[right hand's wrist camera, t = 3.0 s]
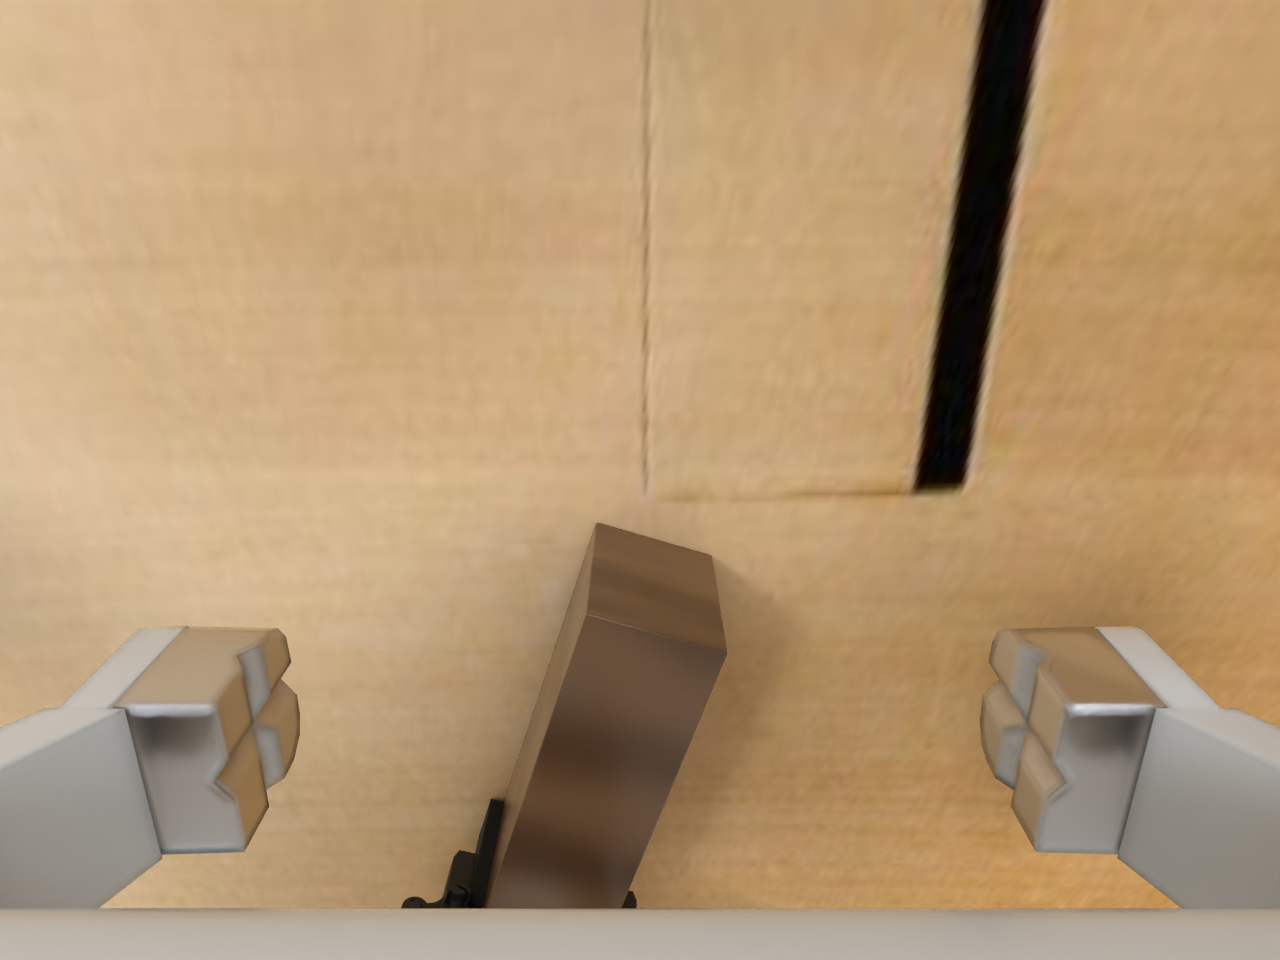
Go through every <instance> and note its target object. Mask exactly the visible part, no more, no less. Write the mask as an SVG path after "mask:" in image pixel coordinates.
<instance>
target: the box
mask: <svg viewBox="0 0 1280 960" xmlns="http://www.w3.org/2000/svg"><path fill="white" fill-rule="evenodd" d="M726 655H727V649H726V642H725V636H724V630H723V624H722V617H721V611H720V605H719V599H718V593H717V586H716V580H715V574H714V568H713V562H712V556H710V555H707V554H703V553H700V552H696V551H693V550H690V549H686V548H683V547H679V546H676V545H672V544H669V543H665V542H662V541H659V540H655V539H652V538H648V537H645V536H641V535H638V534H635V533H631V532H628V531H624V530H621V529H617V528H614V527H610V526H607V525H604V524H600V523H596V525H595V528H594V531H593V534H592V537H591V540H590V543H589V547H588V550H587V553H586V556H585V559H584V562H583V565H582V568H581V571H580V574H579V577H578V580H577V583H576V586H575V589H574V592H573V595H572V598H571V601H570V604H569V607H568V610H567V613H566V616H565V619H564V622H563V625H562V628H561V631H560V634H559V637H558V640H557V643H556V646H555V649H554V652H553V655H552V658H551V661H550V664H549V667H548V670H547V673H546V676H545V679H544V682H543V685H542V688H541V691H540V694H539V697H538V700H537V703H536V706H535V709H534V712H533V715H532V718H531V721H530V724H529V727H528V730H527V733H526V736H525V739H524V742H523V745H522V748H521V751H520V754H519V757H518V760H517V763H516V766H515V770H514V773H513V776H512V779H511V782H510V785H509V788H508V791H507V794H506V797H505V800H504V806H503V811H502V816H501V821H500V826H499V831H498V836H497V841H496V846H495V851H494V856H493V861H492V866H491V871H490V876H489V881H488V885H487V890H486V895H485V899H484V902H483V905H482V908H481V909H621V907H622V905H623V903H624V900H625V898H626V895H627V893H628V891H629V888H630V886H631V883H632V881H633V879H634V876H635V874H636V871H637V869H638V867H639V864H640V862H641V859H642V857H643V855H644V852H645V850H646V847H647V845H648V843H649V840H650V838H651V835H652V833H653V831H654V828H655V826H656V823H657V821H658V818H659V816H660V814H661V811H662V809H663V806H664V804H665V802H666V799H667V797H668V794H669V792H670V790H671V787H672V785H673V782H674V780H675V778H676V775H677V773H678V770H679V768H680V766H681V763H682V761H683V758H684V756H685V754H686V751H687V749H688V746H689V744H690V742H691V739H692V737H693V734H694V732H695V730H696V727H697V725H698V722H699V720H700V718H701V715H702V713H703V710H704V708H705V706H706V703H707V701H708V698H709V696H710V694H711V691H712V689H713V686H714V684H715V682H716V679H717V677H718V674H719V672H720V669H721V667H722V665H723V662H724V660H725V657H726Z"/></svg>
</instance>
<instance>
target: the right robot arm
mask: <svg viewBox="0 0 1280 960" xmlns="http://www.w3.org/2000/svg"><path fill="white" fill-rule="evenodd" d="M290 663H291V659H290V654H289V649H288V644H287V639H286V636H285V635H284V634H283V633H282V632H281V631H280V630H279V629H278V628H231V627H191V628H190V627H188V626H164V627H146V628H141V629H138V630H137V631H136V632H135V633H134V634H133V635H132V636H131V637H130V638H129V639H128V640H127V641H126V642H125V643H124V644H123V645H122V646H121V647H120V648H119V649H118V650H117V651H116V652H115V653H114V654H113V655H112V656H111V657H110V658H109V659H108V660H107V661H106V662H105V663H104V664H103V665H102V666H101V667H100V668H99V669H98V670H97V671H96V672H95V673H94V674H93V675H92V676H91V677H90V678H89V679H88V680H87V681H86V682H85V683H84V684H83V685H82V686H81V687H80V688H79V689H78V690H77V691H76V692H75V693H74V694H73V695H72V696H71V697H70V698H69V699H68V700H67V701H66V702H65V703H64V704H63V705H62V706H61V707H60V708H44V709H42V710H40V711H37V712H35V713H33V714H31V715H28V716H26V717H24V718H21V719H19V720H17V721H15V722H12V723H10V724H8V725H6V726H3V727H1V728H0V960H1280V728H1279V727H1277V726H1274V725H1272V724H1270V723H1268V722H1265V721H1263V720H1261V719H1258V718H1256V717H1254V716H1252V715H1249V714H1247V713H1245V712H1243V711H1240V710H1238V709H1236V708H1220V707H1219V706H1218V705H1217V704H1216V703H1215V702H1214V701H1213V700H1212V699H1211V698H1210V697H1209V696H1208V695H1207V694H1206V693H1205V692H1204V691H1203V690H1202V689H1201V688H1200V687H1199V686H1198V685H1197V684H1196V683H1195V682H1194V681H1193V680H1192V679H1191V678H1190V677H1189V676H1188V675H1187V674H1186V673H1185V672H1184V671H1183V670H1182V669H1181V668H1180V667H1179V666H1178V665H1177V664H1176V663H1175V662H1174V661H1173V660H1172V659H1171V658H1170V657H1169V656H1168V655H1167V654H1166V653H1165V652H1164V651H1163V650H1162V649H1161V648H1160V647H1159V646H1158V645H1157V644H1156V643H1155V642H1154V641H1153V640H1152V639H1151V638H1150V637H1149V636H1148V635H1147V634H1146V633H1145V632H1144V631H1143V630H1141V629H1139V628H1136V627H1133V626H1112V627H1083V628H1042V629H1007V630H998V632H997V634H996V636H995V638H994V640H993V642H992V647H991V653H990V658H989V663H990V665H991V666H992V668H993V669H994V671H995V673H996V674H997V676H998V677H999V680H998V681H997V682H996V683H995V684H994V685H993V686H992V687H991V688H990V689H989V690H988V691H987V692H986V693H985V694H984V695H983V700H982V708H981V715H980V728H981V739H982V746H983V750H984V753H985V756H986V760H987V762H988V764H989V766H990V768H991V770H992V772H993V774H994V776H995V778H996V779H998V780H999V781H1001V782H1003V783H1004V784H1006V785H1007V786H1009V787H1010V788H1012V789H1013V790H1014V793H1013V798H1012V804H1011V808H1012V809H1013V811H1014V813H1015V815H1016V817H1017V818H1018V820H1019V822H1020V824H1021V826H1022V828H1023V829H1024V831H1025V833H1026V835H1027V837H1028V838H1029V840H1030V842H1031V844H1032V846H1033V848H1034V849H1035V851H1036V852H1051V853H1088V854H1118V857H1117V858H1118V859H1119V860H1121V861H1122V862H1123V863H1125V864H1126V865H1127V866H1128V867H1130V868H1131V869H1132V870H1134V871H1135V872H1136V873H1137V874H1139V875H1140V876H1141V877H1142V878H1144V879H1145V880H1146V881H1148V882H1149V883H1150V884H1151V885H1153V886H1154V887H1155V888H1157V889H1158V890H1159V891H1160V892H1162V893H1163V894H1164V895H1165V896H1167V897H1168V898H1169V899H1171V900H1172V901H1173V902H1174V903H1176V904H1177V905H1178V906H1180V907H1181V908H1178V909H1176V908H1174V909H233V908H99V907H101V906H102V905H103V904H105V903H106V902H107V901H108V900H110V899H111V898H112V897H114V896H115V895H116V894H117V893H119V892H120V891H121V890H123V889H124V888H125V887H126V886H128V885H129V884H130V883H131V882H133V881H134V880H135V879H137V878H138V877H139V876H140V875H142V874H143V873H144V872H146V871H147V870H148V869H149V868H151V867H152V866H153V865H155V864H156V863H157V862H158V861H160V860H161V859H162V854H191V853H226V852H244V851H245V850H246V848H247V846H248V844H249V842H250V840H251V839H252V837H253V835H254V833H255V831H256V829H257V828H258V826H259V824H260V822H261V820H262V819H263V817H264V815H265V813H266V811H267V809H268V808H269V803H268V798H267V792H266V790H267V789H268V788H270V787H271V786H273V785H274V784H276V783H277V782H279V781H281V780H282V779H284V778H285V776H286V774H287V772H288V770H289V768H290V766H291V764H292V762H293V760H294V757H295V753H296V748H297V744H298V739H299V735H300V712H299V706H298V699H297V695H296V694H295V693H294V692H293V691H292V690H291V689H290V688H289V687H288V686H287V685H286V684H285V683H284V682H283V681H282V680H281V677H282V676H283V674H284V673H285V671H286V669H287V668H288V666H289V665H290Z"/></svg>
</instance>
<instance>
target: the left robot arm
mask: <svg viewBox="0 0 1280 960" xmlns="http://www.w3.org/2000/svg"><path fill="white" fill-rule="evenodd" d="M503 806H504V802H502V801H498V800H494V799H491V801H490V804H489V807H488V810H487V813H486V817H485V820H484V823H483V826H482V829H481V832H480V835H479V839H478V844H477V848H476V852H475V854H473V853H469V852H465V851H461V850H459V852H458V853H457V854H456V855H455V856H454V859H453V862H452V865H451V868H450V871H449V874H448V878H447V882H446V886H445V890H444V894H443V897H442V899H440V900H439V901H437V902H435V903H426V901H424V900H423V899H422V898H419V897H410V898H407V899H406V900H405V901H404V903H403V905H402V908H401V909H481V908H482V905H483V902H484V899H485V895H486V890H487V885H488V881H489V876H490V871H491V866H492V861H493V856H494V851H495V846H496V841H497V836H498V831H499V826H500V821H501V816H502V811H503ZM621 909H636V898H635V896H634V893H633V892H632V891H628V893H627V895H626V898H625V900H624V903H623V905H622V907H621Z"/></svg>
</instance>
